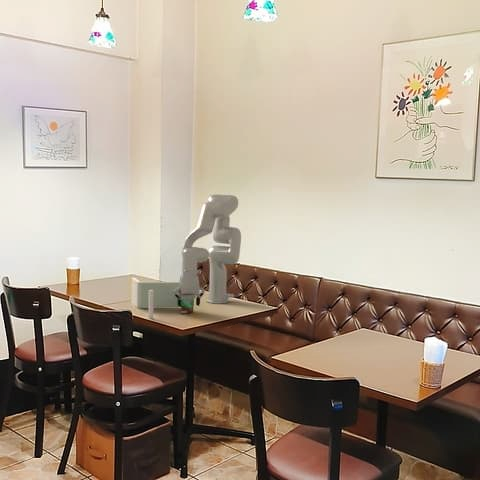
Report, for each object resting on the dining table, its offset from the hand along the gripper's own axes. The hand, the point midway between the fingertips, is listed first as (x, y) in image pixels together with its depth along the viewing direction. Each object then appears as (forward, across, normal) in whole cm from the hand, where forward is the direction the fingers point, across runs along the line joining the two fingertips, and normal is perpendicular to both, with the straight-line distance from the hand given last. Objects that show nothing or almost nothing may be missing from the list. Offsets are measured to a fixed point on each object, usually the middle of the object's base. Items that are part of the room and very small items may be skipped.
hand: (188, 306), depth 304 cm
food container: (+4, 0, 0) cm, 4 cm away
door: (+3, +11, -14) cm, 18 cm away
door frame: (+4, +22, -11) cm, 25 cm away
